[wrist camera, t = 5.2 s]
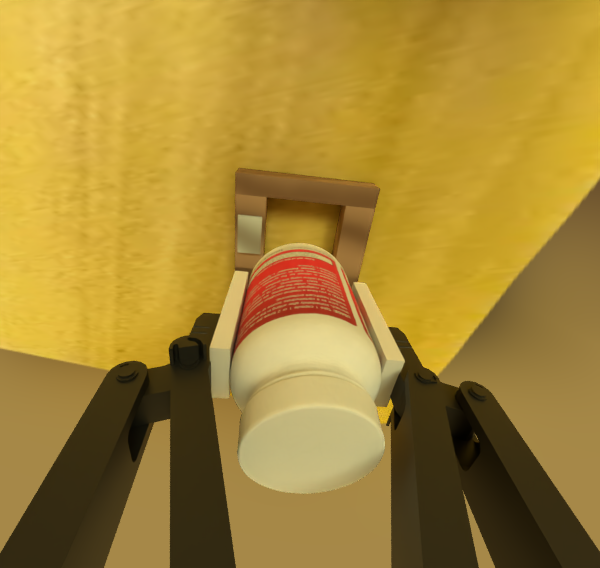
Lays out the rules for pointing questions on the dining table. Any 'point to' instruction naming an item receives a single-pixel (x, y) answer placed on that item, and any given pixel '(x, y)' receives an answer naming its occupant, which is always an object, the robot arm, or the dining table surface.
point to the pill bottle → (305, 376)
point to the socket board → (349, 194)
